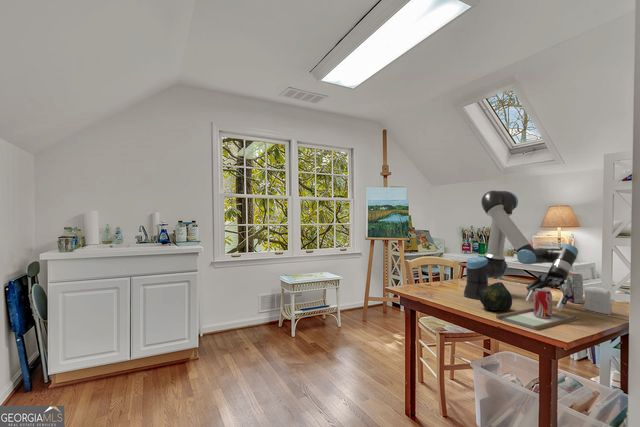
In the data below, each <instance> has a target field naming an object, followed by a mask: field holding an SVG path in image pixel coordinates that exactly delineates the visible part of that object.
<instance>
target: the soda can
mask: <svg viewBox="0 0 640 427" xmlns="http://www.w3.org/2000/svg"><path fill="white" fill-rule="evenodd" d="M552 297H553V294H552V292H551V290H550V289H547V288H542V289H541V288H536V289H535V291H534V296H533V307H534V315H535V316H536V317H538V318H543V319H550V318H551V317H552V314H553V301H552V300H553V298H552Z"/></svg>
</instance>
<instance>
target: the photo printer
mask: <svg viewBox="0 0 640 427" xmlns="http://www.w3.org/2000/svg"><path fill="white" fill-rule="evenodd" d="M611 295H612V294H611V292H610V290H608V289H606V288H602V287H600V286H599V287H598V286H586V287H585V288H584V310H586V311H590V312H594V313H595V312H596V313H599V314H603V315H607V314H608V315H607V316H609V315H611V312H612V308H611V307H612V306H611V305H612V303H611Z"/></svg>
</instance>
